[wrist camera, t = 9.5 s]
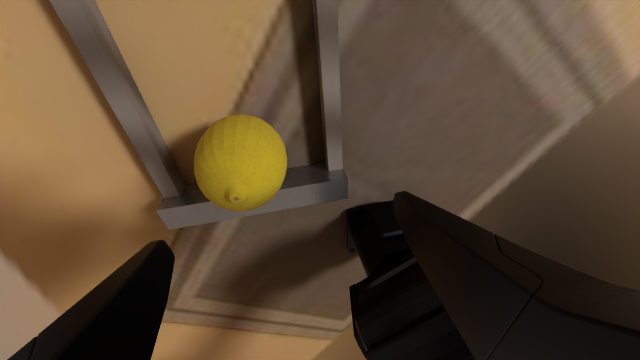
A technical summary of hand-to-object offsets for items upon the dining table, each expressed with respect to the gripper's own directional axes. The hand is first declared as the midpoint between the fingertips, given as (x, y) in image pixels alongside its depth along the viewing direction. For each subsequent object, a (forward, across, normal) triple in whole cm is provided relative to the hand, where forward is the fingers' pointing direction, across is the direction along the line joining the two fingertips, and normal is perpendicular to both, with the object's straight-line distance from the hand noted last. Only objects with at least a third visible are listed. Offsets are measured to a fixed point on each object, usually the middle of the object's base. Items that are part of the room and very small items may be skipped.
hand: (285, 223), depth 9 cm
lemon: (+11, +2, 0) cm, 12 cm away
